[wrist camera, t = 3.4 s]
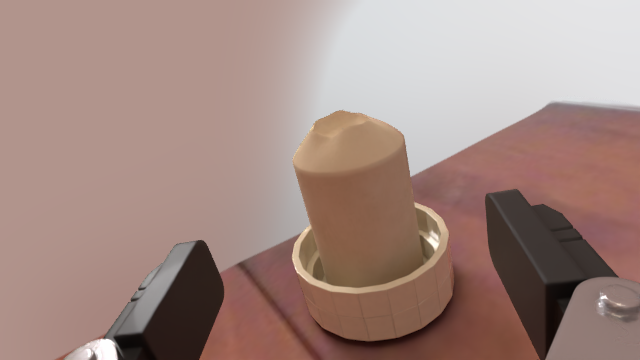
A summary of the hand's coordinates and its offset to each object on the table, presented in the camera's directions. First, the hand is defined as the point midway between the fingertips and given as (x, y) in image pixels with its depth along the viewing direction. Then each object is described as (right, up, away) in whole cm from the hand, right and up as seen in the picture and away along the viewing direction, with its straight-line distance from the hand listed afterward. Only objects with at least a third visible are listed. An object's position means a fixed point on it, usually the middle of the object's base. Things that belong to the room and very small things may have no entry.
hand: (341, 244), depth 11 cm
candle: (+3, -4, +12) cm, 13 cm away
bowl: (+3, -4, +12) cm, 13 cm away
